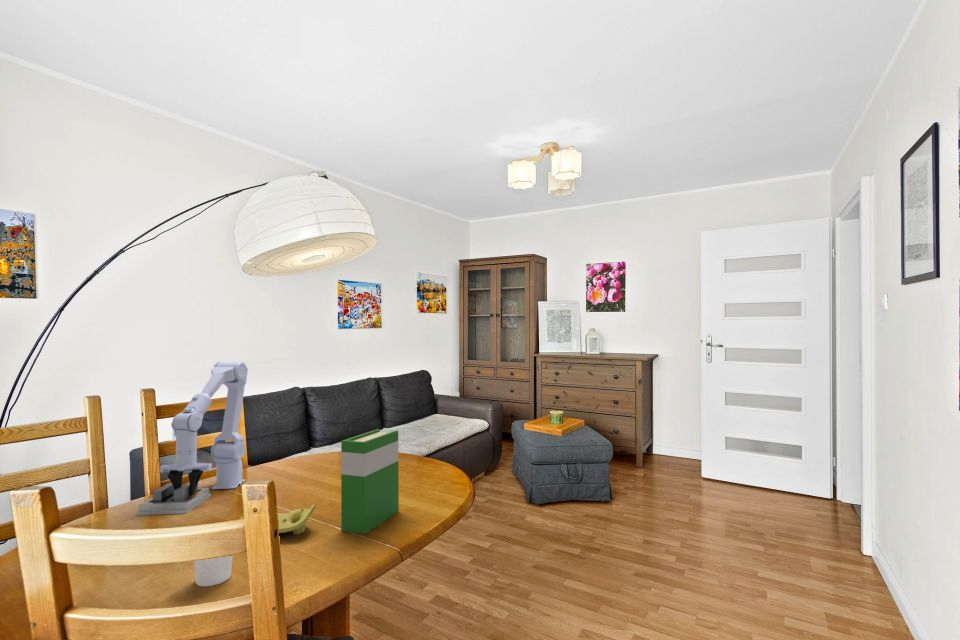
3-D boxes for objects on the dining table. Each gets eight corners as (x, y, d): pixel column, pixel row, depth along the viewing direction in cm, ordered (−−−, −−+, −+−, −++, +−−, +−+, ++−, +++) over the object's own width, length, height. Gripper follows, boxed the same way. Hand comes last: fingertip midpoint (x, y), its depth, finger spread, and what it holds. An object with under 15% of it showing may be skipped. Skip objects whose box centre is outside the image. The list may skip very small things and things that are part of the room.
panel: (189, 496, 157) (190, 481, 157) (197, 496, 157) (198, 480, 157) (173, 507, 147) (173, 490, 147) (182, 506, 147) (182, 490, 147)
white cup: (194, 592, 99) (195, 542, 99) (190, 577, 105) (191, 530, 105) (236, 580, 103) (237, 533, 104) (230, 567, 110) (231, 522, 110)
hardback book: (377, 508, 147) (377, 429, 147) (398, 511, 144) (398, 430, 145) (341, 530, 130) (341, 440, 131) (364, 533, 127) (364, 442, 128)
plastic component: (232, 529, 126) (254, 500, 135) (242, 549, 129) (263, 520, 138) (299, 528, 122) (317, 499, 131) (308, 550, 125) (325, 520, 134)
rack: (166, 498, 159) (166, 479, 159) (210, 496, 160) (211, 477, 160) (136, 515, 143) (137, 495, 143) (186, 513, 144) (186, 493, 144)
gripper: (154, 454, 148) (154, 499, 147) (204, 453, 149) (204, 497, 149) (167, 449, 155) (166, 492, 154) (214, 447, 156) (214, 490, 156)
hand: (185, 494), depth 152 cm, fingers open, 4 cm apart
